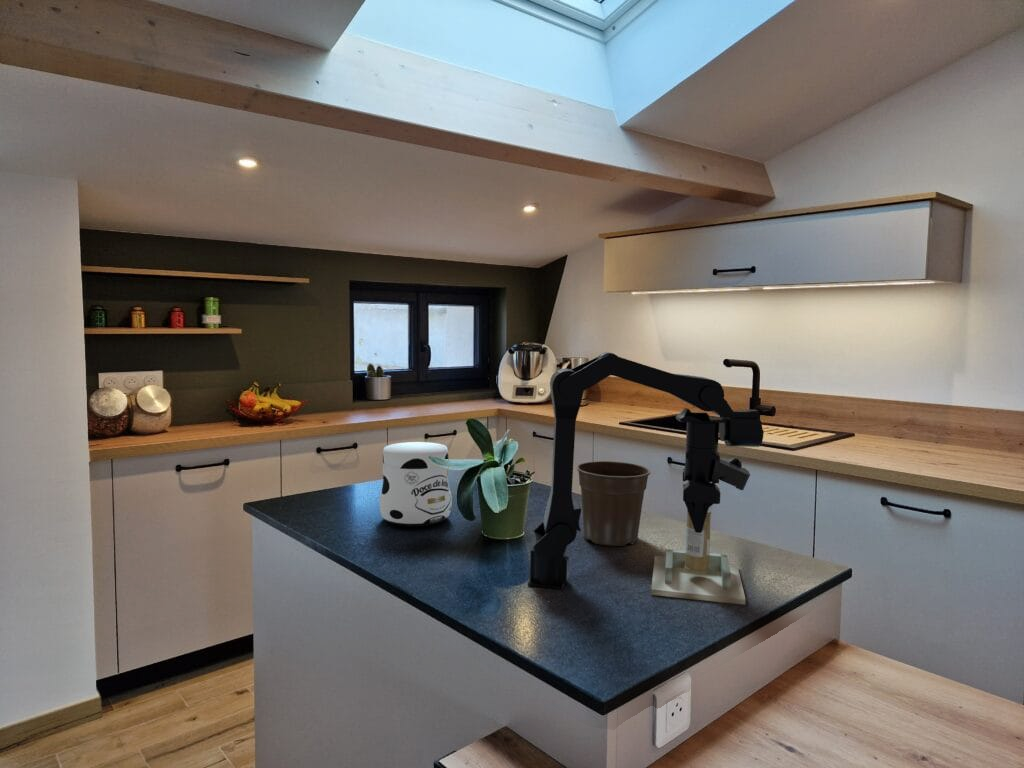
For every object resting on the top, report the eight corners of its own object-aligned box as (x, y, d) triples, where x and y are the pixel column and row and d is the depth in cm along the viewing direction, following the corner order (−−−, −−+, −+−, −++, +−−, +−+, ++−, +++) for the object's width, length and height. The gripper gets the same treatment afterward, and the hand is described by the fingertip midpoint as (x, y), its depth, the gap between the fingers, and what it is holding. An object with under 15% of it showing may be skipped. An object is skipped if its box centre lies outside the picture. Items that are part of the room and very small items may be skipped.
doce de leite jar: (441, 534, 154) (441, 456, 152) (368, 529, 157) (368, 452, 155) (459, 513, 171) (459, 442, 169) (393, 509, 174) (393, 439, 172)
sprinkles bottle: (714, 571, 126) (717, 501, 125) (697, 576, 124) (700, 504, 123) (695, 564, 130) (698, 495, 129) (678, 568, 128) (681, 498, 126)
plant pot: (641, 528, 161) (644, 461, 159) (654, 551, 144) (656, 477, 143) (573, 526, 161) (574, 459, 160) (577, 549, 145) (579, 475, 143)
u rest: (651, 594, 121) (651, 573, 121) (654, 560, 139) (655, 541, 138) (745, 604, 118) (746, 582, 117) (736, 568, 135) (737, 548, 135)
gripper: (753, 458, 114) (748, 549, 115) (743, 440, 132) (739, 518, 133) (685, 454, 116) (681, 542, 118) (684, 436, 135) (680, 513, 136)
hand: (698, 528), depth 126 cm, fingers closed on sprinkles bottle, 4 cm apart
